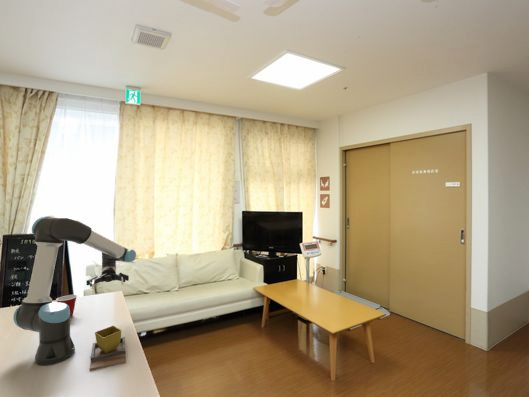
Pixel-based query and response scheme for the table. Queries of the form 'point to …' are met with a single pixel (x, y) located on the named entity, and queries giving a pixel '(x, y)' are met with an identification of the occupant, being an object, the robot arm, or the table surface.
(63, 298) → the plastic cup
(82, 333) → the table surface
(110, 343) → the flower pot
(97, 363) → the tray
